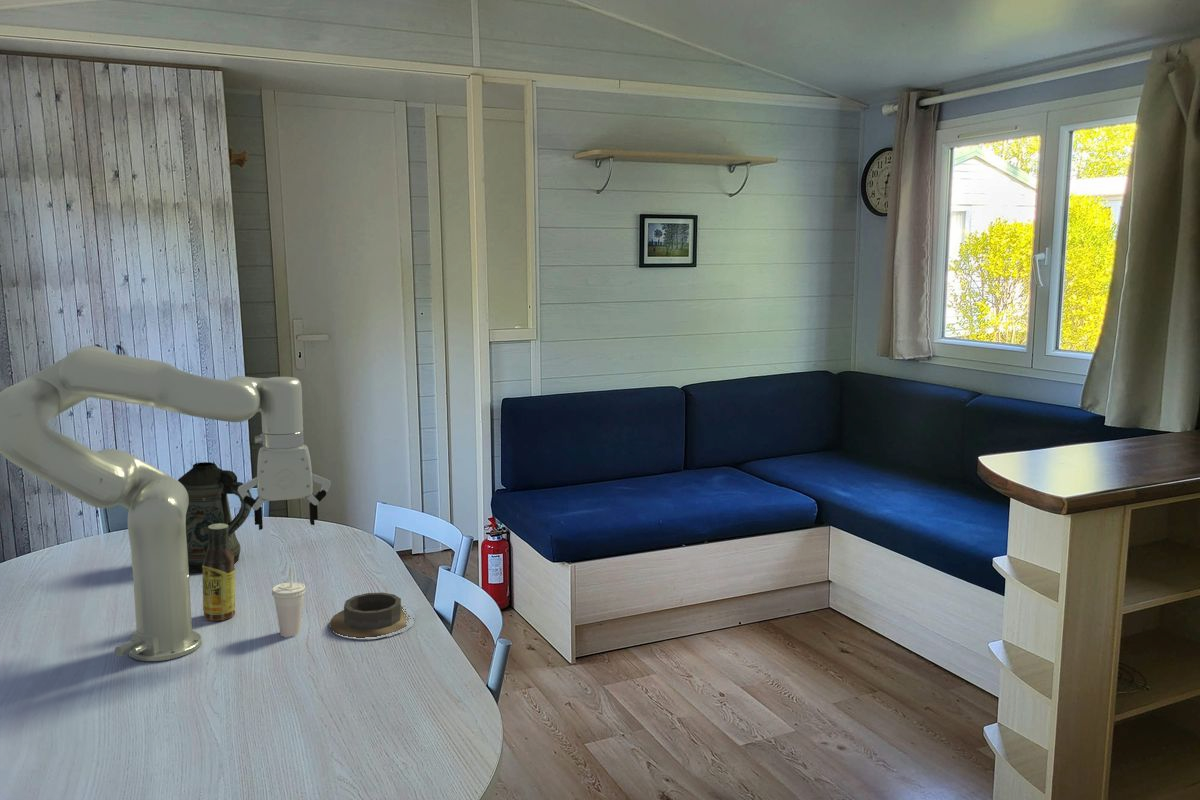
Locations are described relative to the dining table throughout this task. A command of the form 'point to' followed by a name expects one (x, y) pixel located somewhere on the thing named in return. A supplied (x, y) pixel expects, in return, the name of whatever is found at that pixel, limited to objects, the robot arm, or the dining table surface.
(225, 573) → the sauce bottle
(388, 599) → the holder
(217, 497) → the beer stein
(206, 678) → the dining table surface
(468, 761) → the dining table surface
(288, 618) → the smoothie
